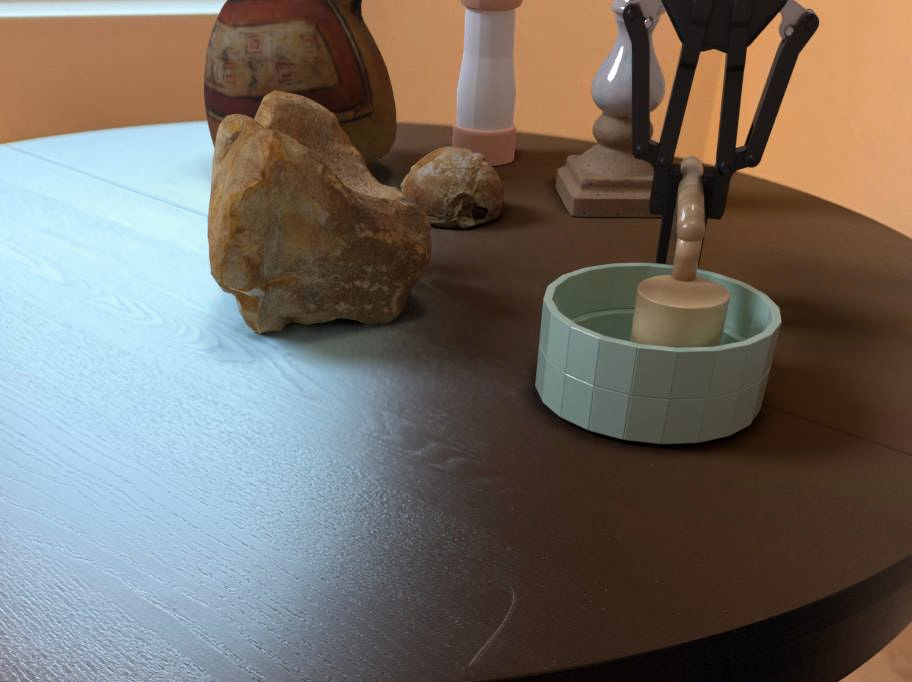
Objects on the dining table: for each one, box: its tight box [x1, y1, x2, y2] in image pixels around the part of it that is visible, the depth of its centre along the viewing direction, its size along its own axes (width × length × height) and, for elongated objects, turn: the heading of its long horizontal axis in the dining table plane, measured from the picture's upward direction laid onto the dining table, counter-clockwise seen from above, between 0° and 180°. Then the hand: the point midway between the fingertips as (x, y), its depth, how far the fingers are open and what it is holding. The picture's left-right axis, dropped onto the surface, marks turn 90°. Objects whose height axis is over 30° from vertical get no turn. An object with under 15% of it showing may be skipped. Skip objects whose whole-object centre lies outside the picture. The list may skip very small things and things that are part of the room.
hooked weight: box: [630, 155, 730, 348], centre depth 74 cm, size 22×6×9 cm, turn 169°
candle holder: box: [555, 0, 667, 218], centre depth 101 cm, size 11×11×24 cm
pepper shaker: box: [451, 0, 524, 167], centre depth 114 cm, size 7×7×19 cm
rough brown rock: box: [206, 90, 433, 335], centre depth 79 cm, size 23×17×15 cm
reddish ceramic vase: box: [203, 0, 398, 165], centre depth 104 cm, size 20×20×30 cm
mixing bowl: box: [534, 262, 783, 445], centre depth 69 cm, size 15×15×7 cm
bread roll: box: [400, 145, 505, 230], centre depth 102 cm, size 10×10×8 cm
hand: (677, 258), depth 80 cm, fingers closed on hooked weight, 2 cm apart
